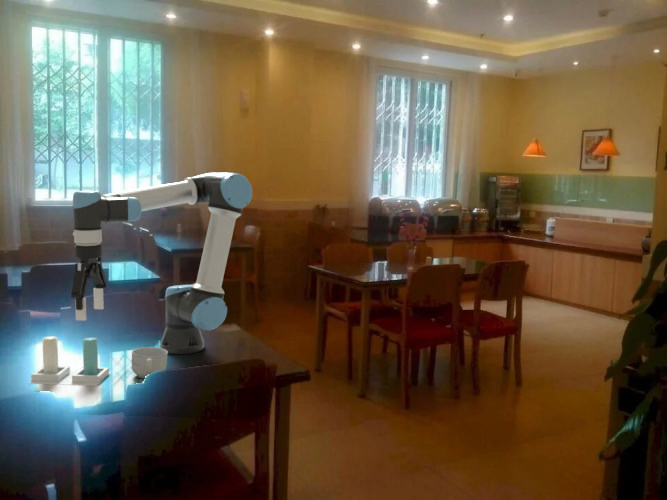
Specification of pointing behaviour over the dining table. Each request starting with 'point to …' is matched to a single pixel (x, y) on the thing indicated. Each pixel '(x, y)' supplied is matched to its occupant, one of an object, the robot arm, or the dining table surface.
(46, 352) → the peg seated
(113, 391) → the dining table surface
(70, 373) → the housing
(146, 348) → the teacup
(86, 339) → the teal peg
